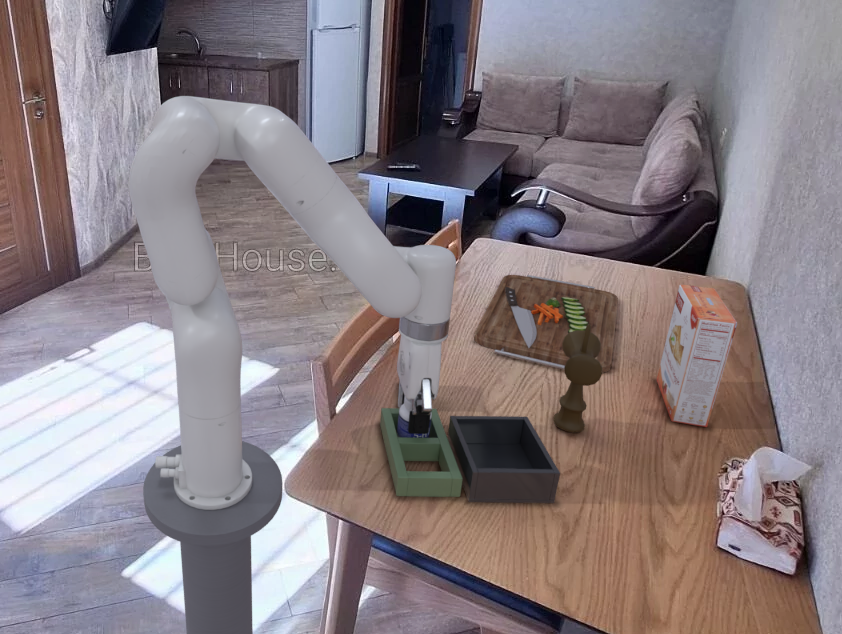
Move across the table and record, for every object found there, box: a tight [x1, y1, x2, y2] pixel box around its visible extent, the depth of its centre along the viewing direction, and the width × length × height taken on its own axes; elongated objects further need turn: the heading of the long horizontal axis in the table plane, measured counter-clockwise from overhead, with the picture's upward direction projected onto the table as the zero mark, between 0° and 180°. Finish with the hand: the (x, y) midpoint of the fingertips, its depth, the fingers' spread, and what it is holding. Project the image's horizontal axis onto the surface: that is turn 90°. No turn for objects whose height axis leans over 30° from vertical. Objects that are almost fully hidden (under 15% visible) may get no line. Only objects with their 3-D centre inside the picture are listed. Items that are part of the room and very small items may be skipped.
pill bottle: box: [396, 392, 432, 438], centre depth 107 cm, size 5×5×9 cm
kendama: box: [552, 324, 603, 434], centre depth 109 cm, size 6×10×20 cm, turn 157°
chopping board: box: [473, 274, 619, 374], centre depth 149 cm, size 45×27×3 cm, turn 151°
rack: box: [379, 407, 463, 498], centre depth 104 cm, size 10×18×4 cm, turn 179°
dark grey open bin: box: [447, 415, 561, 504], centre depth 101 cm, size 13×14×6 cm
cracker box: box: [656, 284, 738, 428], centre depth 115 cm, size 14×6×21 cm, turn 160°
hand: (414, 420), depth 107 cm, fingers closed on pill bottle, 5 cm apart
